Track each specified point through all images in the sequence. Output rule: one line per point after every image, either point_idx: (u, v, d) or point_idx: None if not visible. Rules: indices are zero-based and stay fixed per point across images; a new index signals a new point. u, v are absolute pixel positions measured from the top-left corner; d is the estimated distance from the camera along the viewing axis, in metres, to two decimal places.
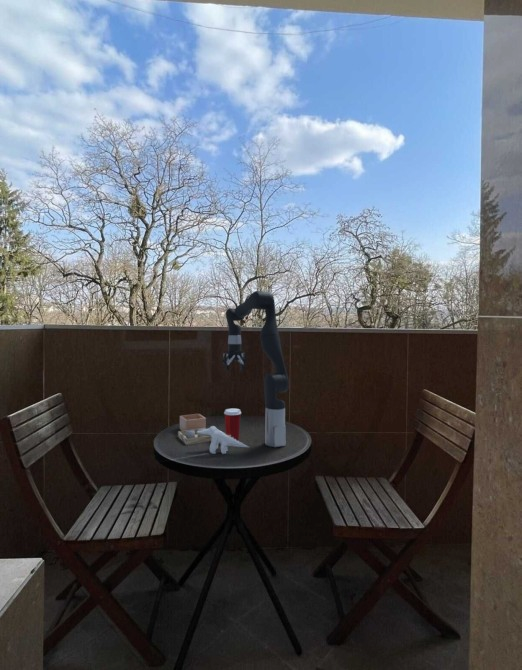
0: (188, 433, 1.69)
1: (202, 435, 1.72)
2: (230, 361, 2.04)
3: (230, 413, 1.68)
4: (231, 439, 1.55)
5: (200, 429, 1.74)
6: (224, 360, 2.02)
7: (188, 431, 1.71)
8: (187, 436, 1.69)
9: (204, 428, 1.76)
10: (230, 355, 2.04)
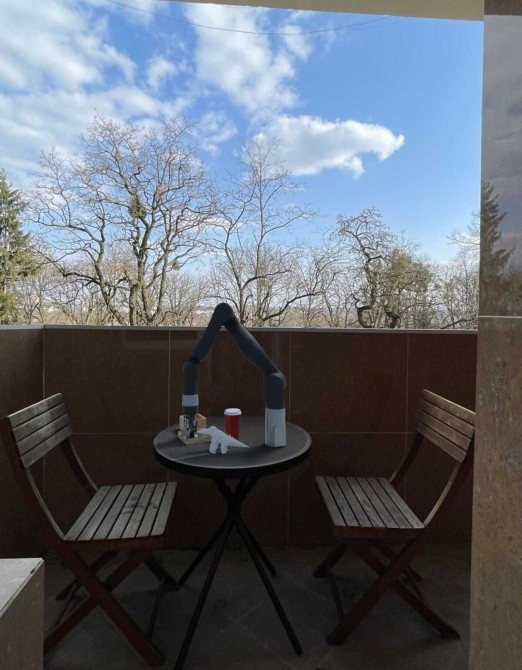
0: (188, 433, 1.69)
1: (202, 435, 1.72)
2: None
3: (230, 413, 1.68)
4: (231, 439, 1.55)
5: (200, 429, 1.74)
6: (196, 428, 1.67)
7: (188, 431, 1.71)
8: (187, 436, 1.69)
9: (204, 428, 1.76)
10: None
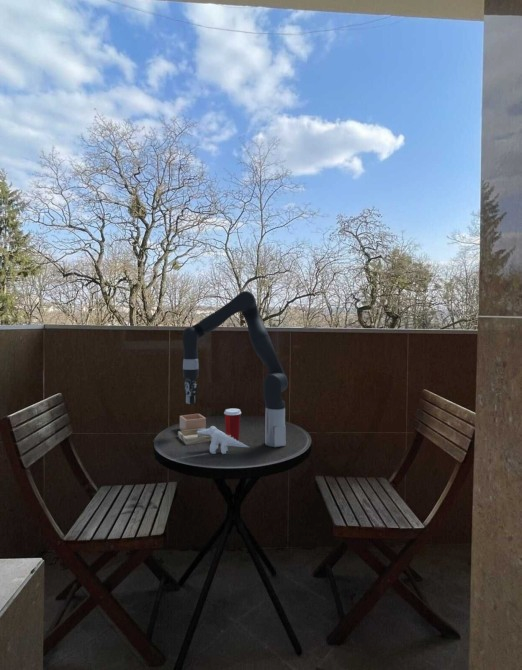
0: (188, 396, 1.74)
1: (202, 435, 1.72)
2: (195, 390, 1.75)
3: (230, 413, 1.68)
4: (231, 439, 1.55)
5: (200, 429, 1.74)
6: None
7: (188, 395, 1.75)
8: (188, 399, 1.74)
9: (204, 428, 1.76)
10: None
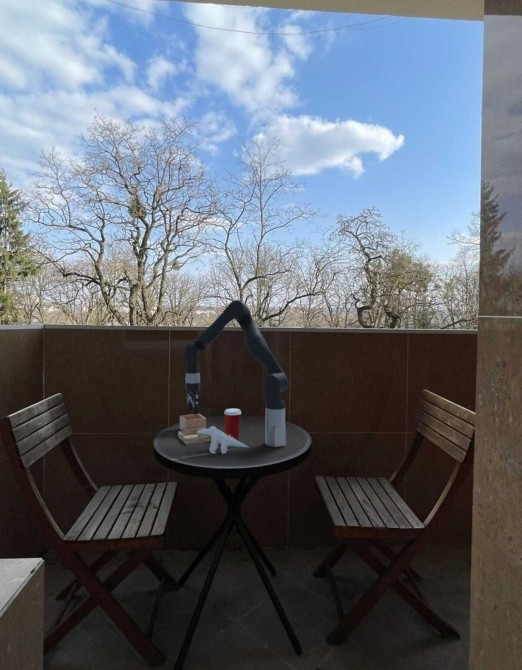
0: None
1: (202, 435, 1.72)
2: (197, 402, 1.84)
3: (230, 413, 1.68)
4: (231, 439, 1.55)
5: (200, 429, 1.74)
6: (199, 402, 1.81)
7: None
8: None
9: (204, 428, 1.76)
10: None
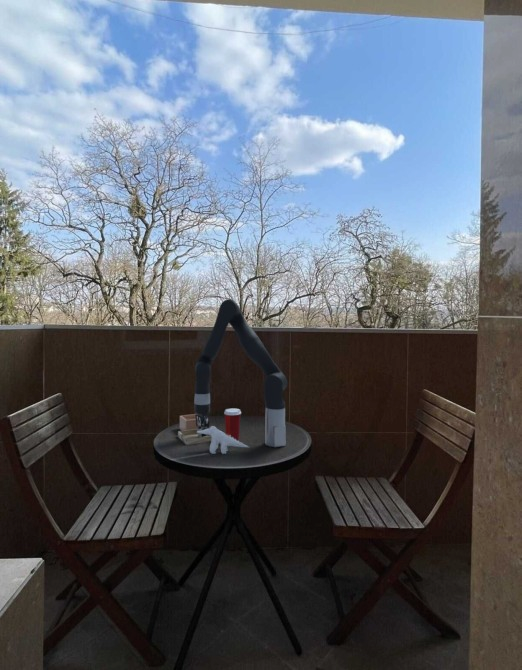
0: None
1: None
2: None
3: (230, 413, 1.68)
4: (231, 439, 1.55)
5: (200, 429, 1.74)
6: (208, 427, 1.70)
7: None
8: None
9: None
10: None
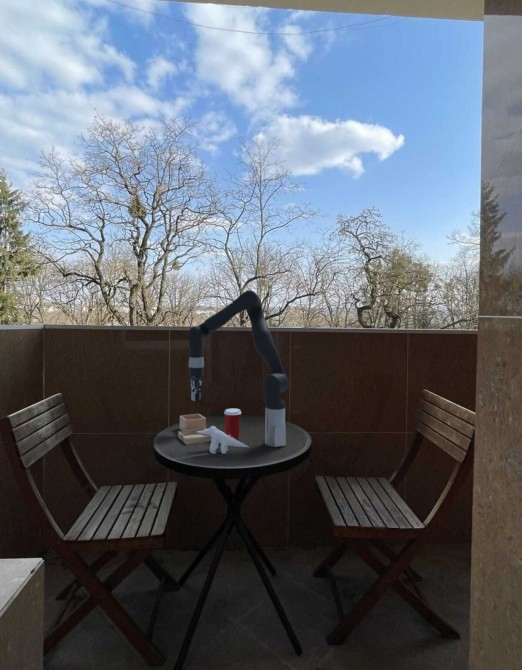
0: None
1: None
2: None
3: (230, 413, 1.68)
4: (231, 439, 1.55)
5: (194, 392, 1.80)
6: None
7: None
8: None
9: None
10: None
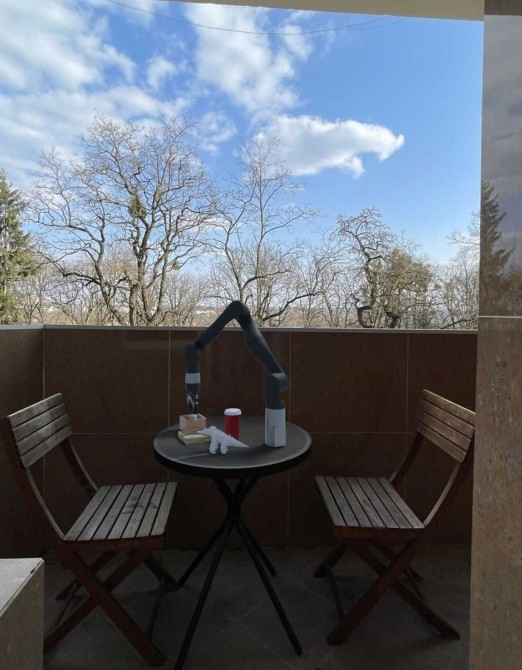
0: None
1: None
2: (197, 402, 1.84)
3: (230, 413, 1.68)
4: (231, 439, 1.55)
5: (191, 415, 1.86)
6: None
7: None
8: None
9: None
10: None
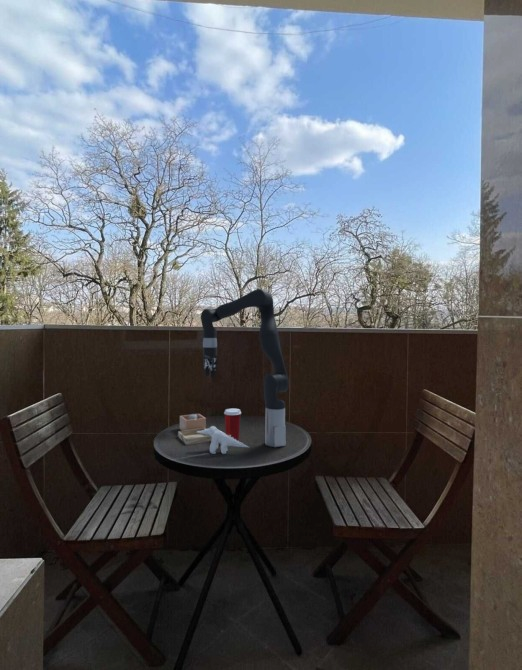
0: None
1: None
2: None
3: (230, 413, 1.68)
4: (231, 439, 1.55)
5: (191, 415, 1.86)
6: None
7: None
8: None
9: (195, 414, 1.88)
10: None
